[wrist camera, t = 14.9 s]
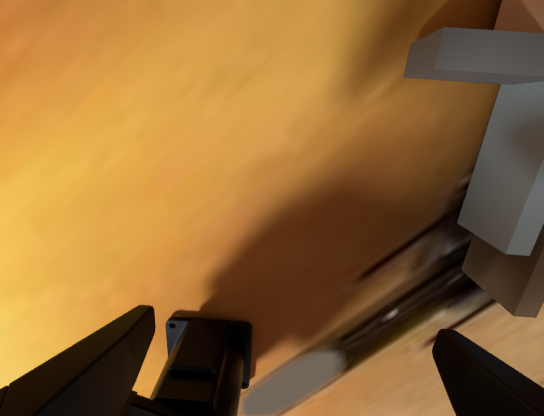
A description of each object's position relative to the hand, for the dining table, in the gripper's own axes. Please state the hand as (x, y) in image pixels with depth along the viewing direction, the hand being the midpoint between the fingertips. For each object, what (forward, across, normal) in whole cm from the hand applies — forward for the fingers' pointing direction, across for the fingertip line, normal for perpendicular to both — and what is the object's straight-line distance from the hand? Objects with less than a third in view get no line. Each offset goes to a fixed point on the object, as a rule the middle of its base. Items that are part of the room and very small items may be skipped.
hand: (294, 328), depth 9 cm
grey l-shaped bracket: (+10, -9, -5) cm, 14 cm away
